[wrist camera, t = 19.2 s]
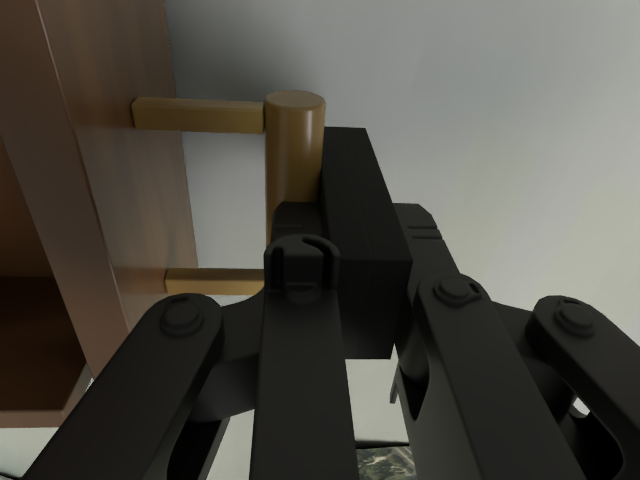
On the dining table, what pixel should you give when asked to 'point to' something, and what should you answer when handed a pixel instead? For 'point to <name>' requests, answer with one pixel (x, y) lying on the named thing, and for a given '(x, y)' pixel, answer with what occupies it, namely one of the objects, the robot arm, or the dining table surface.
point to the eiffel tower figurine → (386, 464)
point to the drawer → (109, 189)
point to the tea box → (4, 478)
